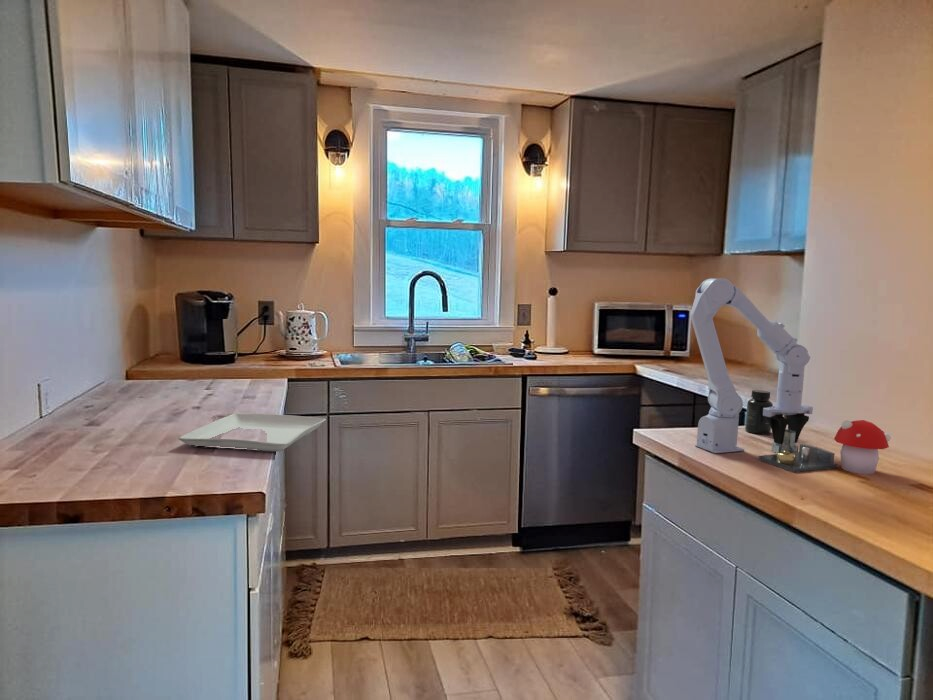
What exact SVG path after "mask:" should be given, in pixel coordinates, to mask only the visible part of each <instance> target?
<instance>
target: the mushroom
mask: <svg viewBox="0 0 933 700" xmlns="http://www.w3.org/2000/svg"><path fill="white" fill-rule="evenodd" d="M840 425H841V427H839V429H838V430H837V432H836V434H835V436H834V438H833V440H834V441H835V442H836V443H838V444H840V445H842V446H841V449H840V460H841V461H840V463H841V469H843V470H844V471H847V472H849V473H854V474H859V475H873V473H874V474H875V472H876V470H877V466H878V463H879V460H880V456H879V450H885V449H888V448H890V445H889V441H890V440H892V438H891V435H890V434H889V433H888V432H885V431H884V430H882V429H881V428H880V427H878V426H877V425H876V424H875V423H873V422H871V421H867V420H864V419H862V420H861V419H858V420H853V421H851V420H844V421H842V422H841V424H840Z"/></svg>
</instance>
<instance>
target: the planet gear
mask: <svg viewBox="0 0 933 700" xmlns="http://www.w3.org/2000/svg"><path fill="white" fill-rule="evenodd" d="M795 435H796V432H795V431H793V430H789V429H788V428H786V429H785V434H784V440H783V444H778V443H775V442H774V440H773V441H772V442H771V451H772V452H773V453H775V452H776V453H775V454H777V452H783V451H790V453H794V452H799V446H800V445H799V444H798V443H795Z"/></svg>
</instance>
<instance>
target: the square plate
mask: <svg viewBox="0 0 933 700" xmlns="http://www.w3.org/2000/svg"><path fill="white" fill-rule="evenodd" d="M323 422H326V418H324V417H313V416H312V417H311V416H301V415H289V414H288V415H287V414H275V413H273V414H272V413H269V414H268V413H231V414H229V415H227V416H224V417H222V418H218V419H216V420H214V421H212V422H210V423H207V424H205V425H203V426H200V427H198V428H197V429H194V430H192V431H189V432H188V433H185V434H184V435H182V436H179V437H178V440H179V441H181V442H182V443H184V444H185V445H188V446H191V445H198V446H220V447H235V448H247V449H257V450H265V451H264V452H281V451H283V450H285V449H287V448H288V447H290V446H291V445H293V444H294V443H296V442H297V441H298V440H300V439H302V438H303V437H305V436H307V435H308V434H310V433H312V432H313V431H315V430H316V429H318V428H319V427H320V426H321V425H322V424H323ZM238 427H240V428H243V429H244V430H245V429H252V430H253V429H262V430H263V431H265V433H267V442H261V441H252V440H241V439H210V438H212V437H215V436H217V435H219V434H222V433H226V432H228V431H230V430H232V429H236V428H238Z"/></svg>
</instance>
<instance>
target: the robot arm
mask: <svg viewBox="0 0 933 700" xmlns="http://www.w3.org/2000/svg"><path fill="white" fill-rule="evenodd" d="M723 306H728V307H731V308H735V309H736V311H738V312H739V313H740V314H741V315H742V316H743V317H744V318H745V319H746V320H747V321H749V322H750V324H751V325H753V326H754V327H755V329H756V330H757V331H756V332H757V337H758V338H759V340H761V341H762V342H763V343H764V344H765V346H767V348H769V350H771V351H772V353H774V354H775V357H776V360H777V361H779V368H778V376H777V377H778V379H777V389H776V401H775V405H773V406H772V407H768V408H763V416H766V418H767V420H768V422H769V424H770V426H771V433H772V439H773V441H774V442H775V443H778V444H783V440H784V434H785V429H789V430H793V431H795V432H796V435H795V444H798V440H799V437H800V435H801V433H802V431H803V428H804V427H805V425H806V424H807V423H808V422H809V420H810V416H809V415H812V414H813V409H814V407H813V406H812V405H802V401H803V390H804V378H805V367H806V366H807V364H808V363H809V362H810V360H811V356H810V354H809V351H808V349H807V348H806V346H804V345H802V344H797V342H798V339H797V337H795V336H794V337H793V336H792V335H791V334H790V333H789V332H788V331H787V330H786V329H785V324H784V323H782V322H778V320H769V319H768V318H766V316H765V315H764V313H762V312H761V311H760V310H759V309H758V307H756V305H755V304H754V303H753V302H752V301H751V300H750V299H749V297H747V296H746V294H745V293H744V292H743V291H742V290H741V289H740V288H739V287H738V286H736V285H734V284H733V282H731V280H729V279H727V278H724V277H720V278H716V277H715V278H714V277H710V278H707V279H705V280H704V281H702V282H701V283H700V285H699V286H698V287H697V289H696V290H695V297H694V300H693V304H692V307H691V310H690V321H691V324H692V327H693V330H694V334H695V335H694V336H695V337H696V341H697V345H698V347H699V352H700V355H701V358H702V361H703V362H702V363H703V365H704V368H705V369H704V370H705V373H706V376H707V379H708V381H707V387H708V393H707V402H708V404H709V405H710V409H709V411H708V414H706V415H704V416H702V417H700V419H699V420H698V424H697V435H696V442H695V443H694V446H695V447H698V448H700V449H703V450H705V451H709V452H711V453H714V454H723V453H733V452H744V451H745V448H744V447H740V446H738V445H737V444H738V434H739V433H738V432H739V421H740V420H739V418H740V412H741V411H742V410H743V406H744V401H743V398H742V397H741V395H739V393H737V391H736V388H735V385H734V384H733V382H732V379H731V378H730V376H729V371H728V368H727V365H726V361H725V358H724V357H725V356H724V353H723V352H722V351H723V350H722V347H721V345H720V340H719V337H718V332H717V330H716V326H715V322H714V317H715V315H716V314H717V312H718V311H719V310H720V308H722V307H723ZM785 416H786V417H785Z"/></svg>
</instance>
